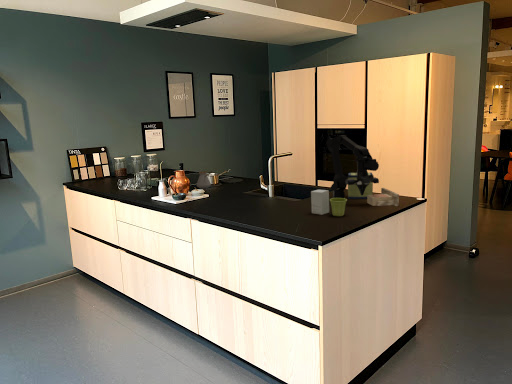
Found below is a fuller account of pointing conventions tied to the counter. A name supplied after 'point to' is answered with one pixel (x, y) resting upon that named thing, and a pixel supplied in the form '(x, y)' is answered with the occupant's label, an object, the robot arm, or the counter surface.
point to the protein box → (354, 191)
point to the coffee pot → (203, 180)
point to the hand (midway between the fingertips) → (362, 195)
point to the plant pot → (338, 206)
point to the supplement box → (320, 201)
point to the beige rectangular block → (378, 198)
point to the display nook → (394, 201)
